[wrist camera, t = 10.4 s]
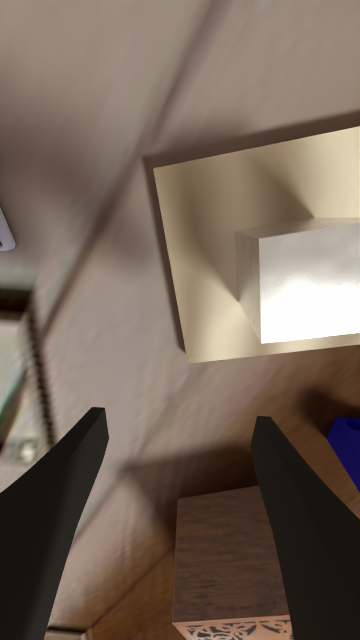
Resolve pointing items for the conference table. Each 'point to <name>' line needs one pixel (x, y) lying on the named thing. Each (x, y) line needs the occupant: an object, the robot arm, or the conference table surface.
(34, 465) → the robot arm
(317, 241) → the brushed grey cube
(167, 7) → the conference table surface
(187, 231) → the board
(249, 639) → the tissue box cover
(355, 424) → the cable clip
